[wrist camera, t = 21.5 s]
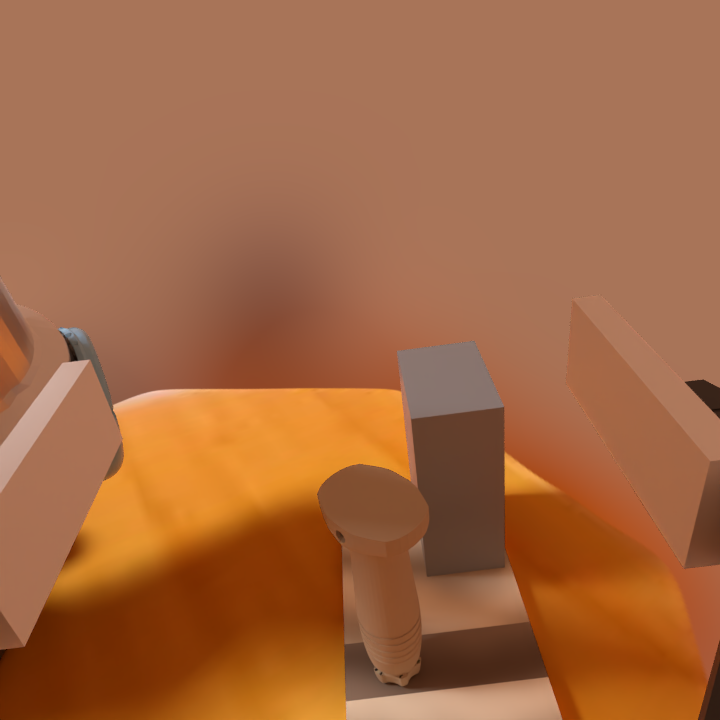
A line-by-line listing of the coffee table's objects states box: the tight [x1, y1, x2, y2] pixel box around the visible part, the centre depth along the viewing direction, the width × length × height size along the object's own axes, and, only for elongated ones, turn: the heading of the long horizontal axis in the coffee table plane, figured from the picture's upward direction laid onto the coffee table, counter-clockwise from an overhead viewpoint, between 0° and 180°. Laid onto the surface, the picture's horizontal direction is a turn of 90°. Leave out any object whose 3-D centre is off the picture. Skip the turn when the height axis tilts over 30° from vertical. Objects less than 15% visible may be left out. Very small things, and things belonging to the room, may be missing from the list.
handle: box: [317, 464, 429, 686], centre depth 36 cm, size 5×6×15 cm
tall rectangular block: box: [397, 341, 505, 577], centre depth 46 cm, size 9×6×15 cm
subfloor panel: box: [342, 540, 563, 720], centre depth 42 cm, size 24×13×1 cm, turn 3°
